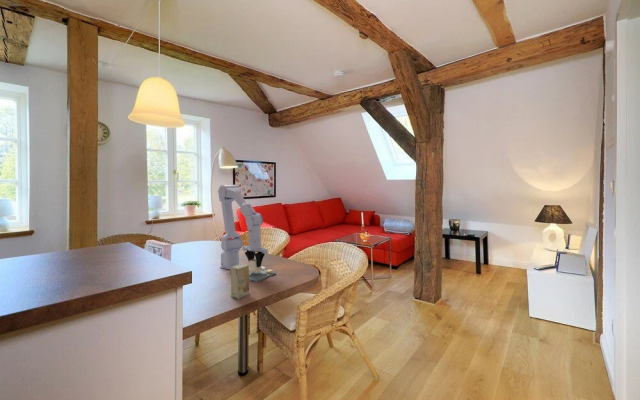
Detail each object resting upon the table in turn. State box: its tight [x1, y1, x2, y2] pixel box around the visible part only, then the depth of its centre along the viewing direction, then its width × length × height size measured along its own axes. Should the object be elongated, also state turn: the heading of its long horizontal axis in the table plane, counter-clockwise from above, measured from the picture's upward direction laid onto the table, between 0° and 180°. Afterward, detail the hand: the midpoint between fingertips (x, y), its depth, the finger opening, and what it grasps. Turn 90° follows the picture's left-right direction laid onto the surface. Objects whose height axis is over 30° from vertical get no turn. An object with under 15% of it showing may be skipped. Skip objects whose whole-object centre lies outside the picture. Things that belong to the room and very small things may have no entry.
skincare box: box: [230, 263, 250, 299], centre depth 123 cm, size 6×4×12 cm
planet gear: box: [248, 258, 267, 273], centre depth 148 cm, size 9×9×5 cm
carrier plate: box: [249, 269, 277, 283], centre depth 149 cm, size 14×14×4 cm
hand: (255, 266), depth 148 cm, fingers closed on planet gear, 4 cm apart
